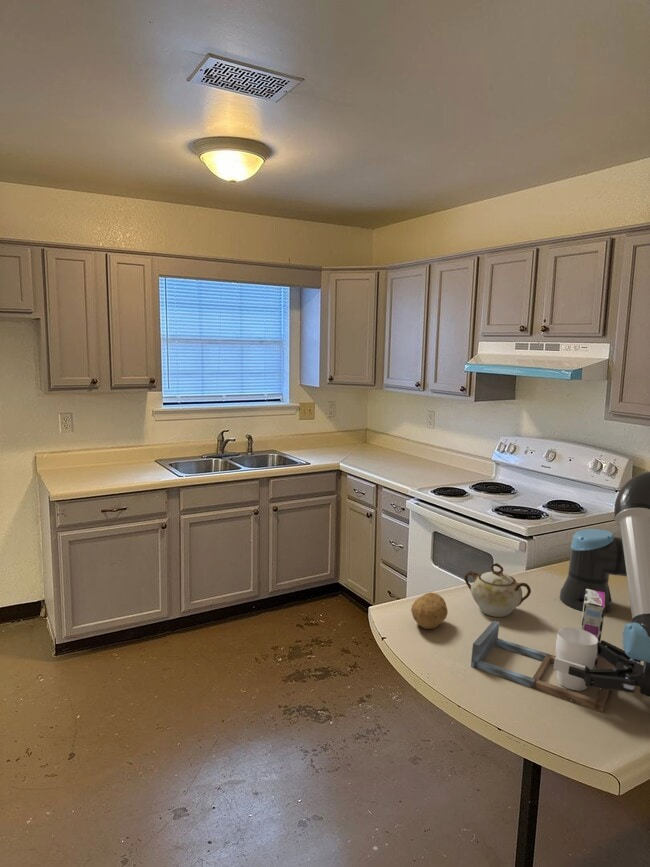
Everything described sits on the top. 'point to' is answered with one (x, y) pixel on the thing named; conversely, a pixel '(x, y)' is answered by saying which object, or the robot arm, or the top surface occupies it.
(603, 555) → the robot arm
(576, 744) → the top surface
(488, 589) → the sugar bowl
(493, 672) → the bay frame
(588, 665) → the cup
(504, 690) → the top surface
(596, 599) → the candy bar box
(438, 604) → the potato
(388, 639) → the top surface
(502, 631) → the top surface
